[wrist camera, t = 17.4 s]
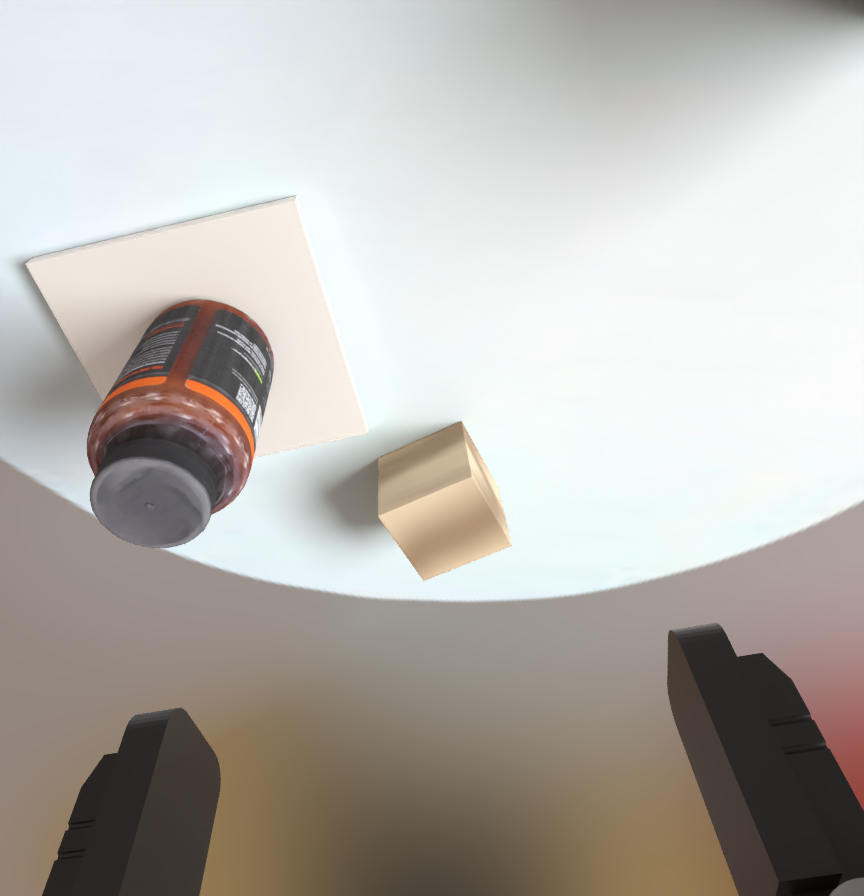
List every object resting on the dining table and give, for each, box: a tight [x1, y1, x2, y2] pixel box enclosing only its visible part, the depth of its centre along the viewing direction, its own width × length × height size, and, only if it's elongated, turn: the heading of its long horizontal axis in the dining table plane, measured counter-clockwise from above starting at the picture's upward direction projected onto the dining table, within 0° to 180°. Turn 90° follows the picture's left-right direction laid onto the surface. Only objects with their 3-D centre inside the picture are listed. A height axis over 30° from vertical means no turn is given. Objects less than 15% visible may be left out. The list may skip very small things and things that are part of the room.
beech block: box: [378, 421, 512, 581], centre depth 37 cm, size 5×5×5 cm
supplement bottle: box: [87, 299, 274, 548], centre depth 28 cm, size 6×6×11 cm
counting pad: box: [26, 196, 368, 458], centre depth 33 cm, size 12×12×1 cm
